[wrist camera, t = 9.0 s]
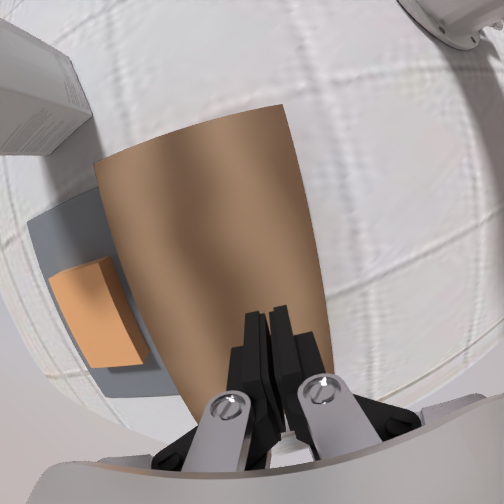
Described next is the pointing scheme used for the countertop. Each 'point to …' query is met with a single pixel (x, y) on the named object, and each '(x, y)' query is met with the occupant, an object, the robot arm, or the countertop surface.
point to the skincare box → (36, 95)
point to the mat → (102, 245)
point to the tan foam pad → (99, 314)
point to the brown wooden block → (214, 242)
